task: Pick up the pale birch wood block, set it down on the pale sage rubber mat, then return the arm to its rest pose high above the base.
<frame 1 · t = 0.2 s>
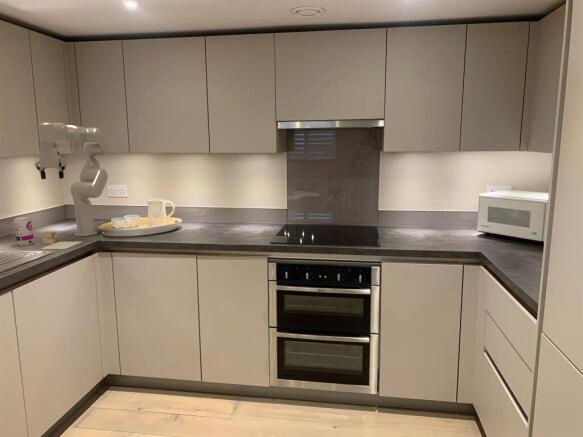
hand: (52, 178, 240), 36 cm above the worktop, tool pointing down, fingers open, 9 cm apart
sage mat: (62, 245, 242), on the worktop
supplement can: (25, 244, 247), on the worktop
birch block: (50, 243, 249), on the worktop
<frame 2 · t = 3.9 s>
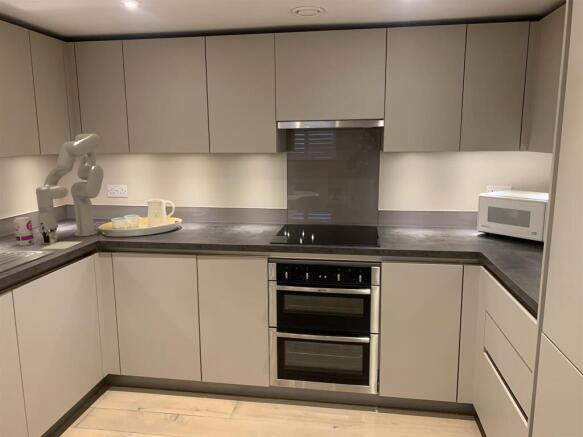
hand: (50, 241, 249), 1 cm above the worktop, tool pointing down, fingers closed on birch block, 5 cm apart
birch block: (50, 242, 249), on the worktop, touching gripper
everything else where it was.
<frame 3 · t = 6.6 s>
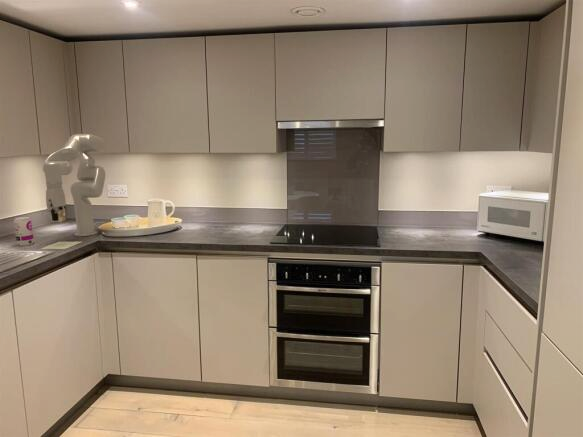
hand: (58, 219, 239), 14 cm above the worktop, tool pointing down, fingers closed on birch block, 5 cm apart
birch block: (58, 221, 239), point 13 cm above the worktop, touching gripper
everything else where it was.
when the fingers open (3 cm above the worktop, at t = 9.3 s): birch block drops 2 cm, resting on sage mat.
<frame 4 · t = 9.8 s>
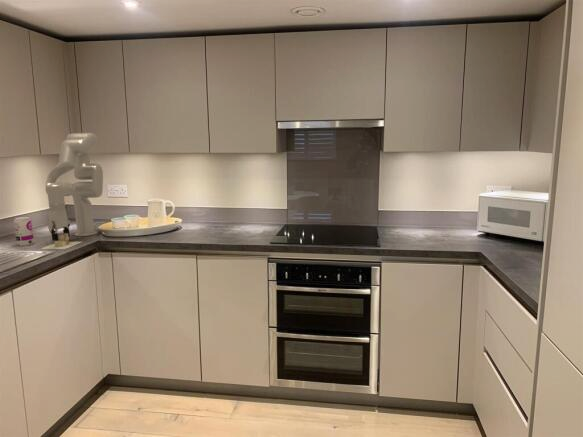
hand: (61, 238, 241), 4 cm above the worktop, tool pointing down, fingers open, 9 cm apart
birch block: (62, 245, 242), resting on sage mat
everything else where it was.
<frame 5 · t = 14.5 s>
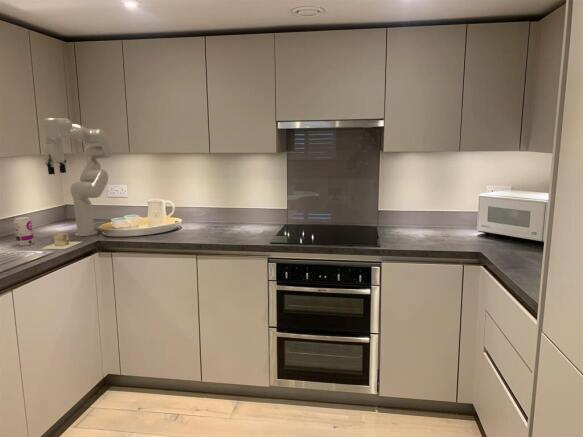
hand: (57, 173, 243), 38 cm above the worktop, tool pointing down, fingers open, 9 cm apart
nothing on the worktop moved.
at the end: birch block 0.1 cm from the sage mat (horizontally); birch block tilted 0°; birch block touching sage mat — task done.
